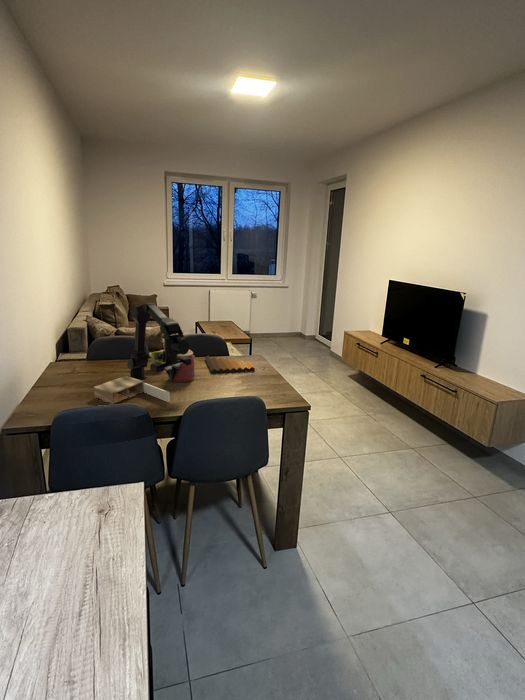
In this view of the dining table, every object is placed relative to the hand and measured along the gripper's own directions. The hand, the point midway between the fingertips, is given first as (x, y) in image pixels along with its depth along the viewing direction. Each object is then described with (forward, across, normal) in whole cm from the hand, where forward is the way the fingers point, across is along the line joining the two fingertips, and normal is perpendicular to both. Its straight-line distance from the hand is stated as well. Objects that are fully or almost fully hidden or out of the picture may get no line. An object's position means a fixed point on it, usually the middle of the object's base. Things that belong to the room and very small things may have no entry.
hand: (171, 381), depth 184 cm
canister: (+8, -18, -18) cm, 26 cm away
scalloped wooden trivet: (+8, -51, -18) cm, 55 cm away
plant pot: (+8, -17, -39) cm, 43 cm away
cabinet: (+8, +17, -17) cm, 26 cm away
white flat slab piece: (+8, +6, -4) cm, 11 cm away
